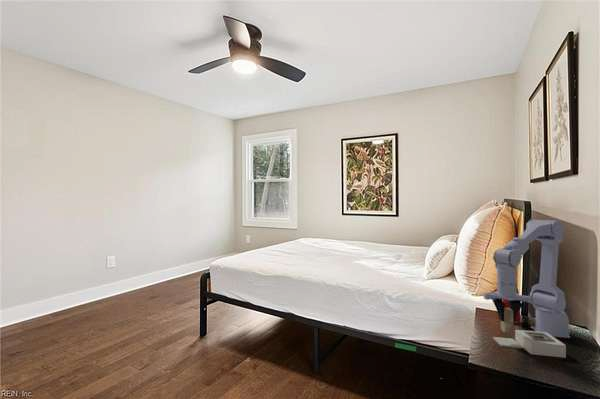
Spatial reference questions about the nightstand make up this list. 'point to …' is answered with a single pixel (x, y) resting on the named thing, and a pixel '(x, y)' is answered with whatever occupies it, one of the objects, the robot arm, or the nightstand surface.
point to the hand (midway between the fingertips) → (506, 320)
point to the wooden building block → (507, 321)
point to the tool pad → (507, 342)
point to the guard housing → (540, 343)
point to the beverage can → (518, 317)
